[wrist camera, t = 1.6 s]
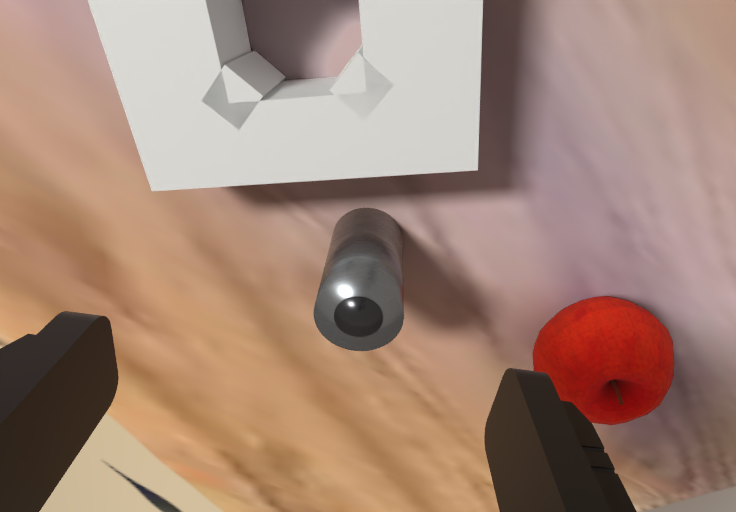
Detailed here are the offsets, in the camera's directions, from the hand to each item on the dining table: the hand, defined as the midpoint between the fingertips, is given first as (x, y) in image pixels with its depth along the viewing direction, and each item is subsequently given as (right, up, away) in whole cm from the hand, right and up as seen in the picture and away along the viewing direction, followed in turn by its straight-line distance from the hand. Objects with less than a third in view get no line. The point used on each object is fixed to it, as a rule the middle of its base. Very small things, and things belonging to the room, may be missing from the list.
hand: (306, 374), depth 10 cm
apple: (+16, -2, +23) cm, 28 cm away
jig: (-2, +15, +14) cm, 20 cm away
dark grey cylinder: (+1, +4, +20) cm, 21 cm away
